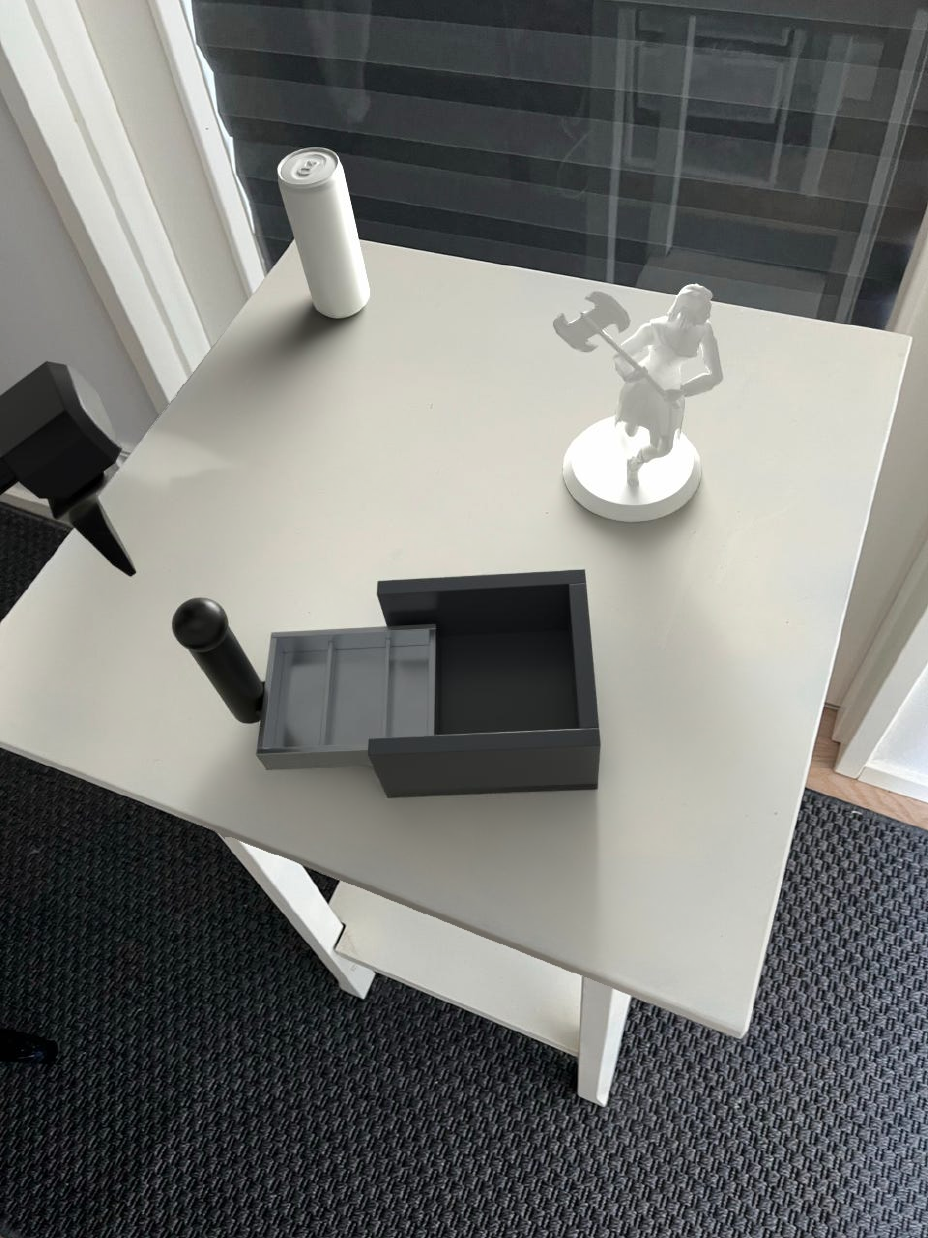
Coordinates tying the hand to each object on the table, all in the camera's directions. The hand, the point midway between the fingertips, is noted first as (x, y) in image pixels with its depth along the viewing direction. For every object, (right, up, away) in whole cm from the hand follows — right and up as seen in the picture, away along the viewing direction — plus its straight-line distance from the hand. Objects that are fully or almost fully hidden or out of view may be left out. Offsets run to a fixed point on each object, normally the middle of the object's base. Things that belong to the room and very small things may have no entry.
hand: (60, 623), depth 47 cm
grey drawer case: (+22, -5, +8) cm, 24 cm away
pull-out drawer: (+13, -5, +8) cm, 16 cm away
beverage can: (+11, +26, +30) cm, 41 cm away
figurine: (+32, +11, +17) cm, 38 cm away
